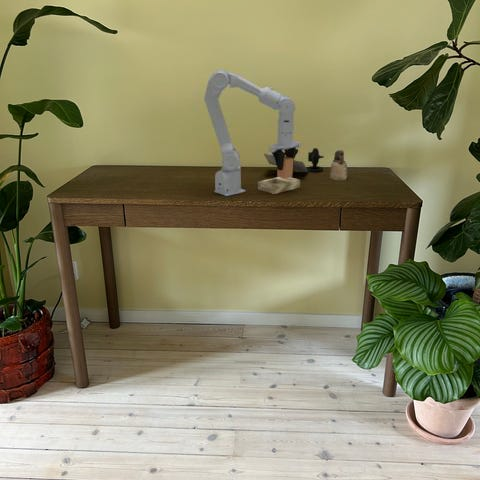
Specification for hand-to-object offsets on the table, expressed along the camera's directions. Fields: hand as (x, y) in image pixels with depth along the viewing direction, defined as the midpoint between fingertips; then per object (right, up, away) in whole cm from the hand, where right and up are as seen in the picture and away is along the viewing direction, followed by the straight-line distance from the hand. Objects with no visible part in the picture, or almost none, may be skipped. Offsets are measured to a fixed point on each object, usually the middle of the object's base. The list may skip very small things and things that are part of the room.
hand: (284, 168), depth 182 cm
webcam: (+16, +4, +34) cm, 38 cm away
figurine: (+24, -1, +21) cm, 32 cm away
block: (0, -3, +1) cm, 3 cm away
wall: (+3, +1, +27) cm, 28 cm away
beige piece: (-1, -7, +8) cm, 10 cm away
